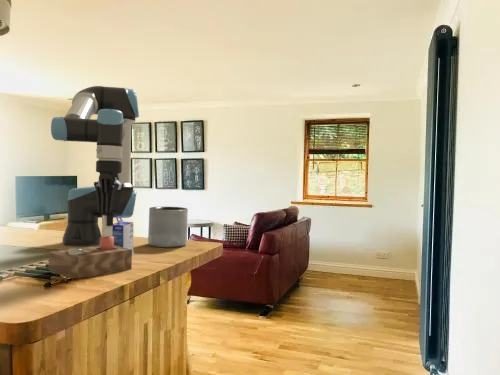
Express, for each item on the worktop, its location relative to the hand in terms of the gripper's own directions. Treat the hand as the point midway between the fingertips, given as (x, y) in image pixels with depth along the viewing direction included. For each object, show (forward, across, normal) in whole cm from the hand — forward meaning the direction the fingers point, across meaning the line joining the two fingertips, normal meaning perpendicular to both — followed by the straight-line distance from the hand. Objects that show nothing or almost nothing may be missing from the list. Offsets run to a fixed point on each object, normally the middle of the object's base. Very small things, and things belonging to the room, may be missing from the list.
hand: (107, 236), depth 126 cm
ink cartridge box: (+10, -10, +12) cm, 19 cm away
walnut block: (+10, 0, -5) cm, 11 cm away
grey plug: (+8, 0, -10) cm, 13 cm away
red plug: (+6, 0, 0) cm, 6 cm away
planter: (+10, -20, +41) cm, 47 cm away
